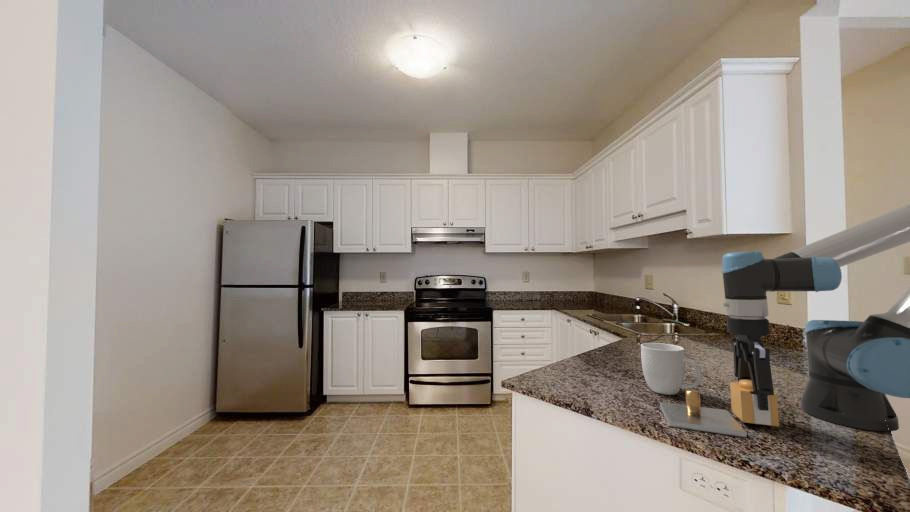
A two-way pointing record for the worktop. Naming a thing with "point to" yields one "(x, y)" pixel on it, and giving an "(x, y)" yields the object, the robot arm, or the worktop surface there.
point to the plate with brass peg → (700, 416)
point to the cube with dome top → (749, 402)
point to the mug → (666, 368)
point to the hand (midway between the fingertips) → (755, 417)
